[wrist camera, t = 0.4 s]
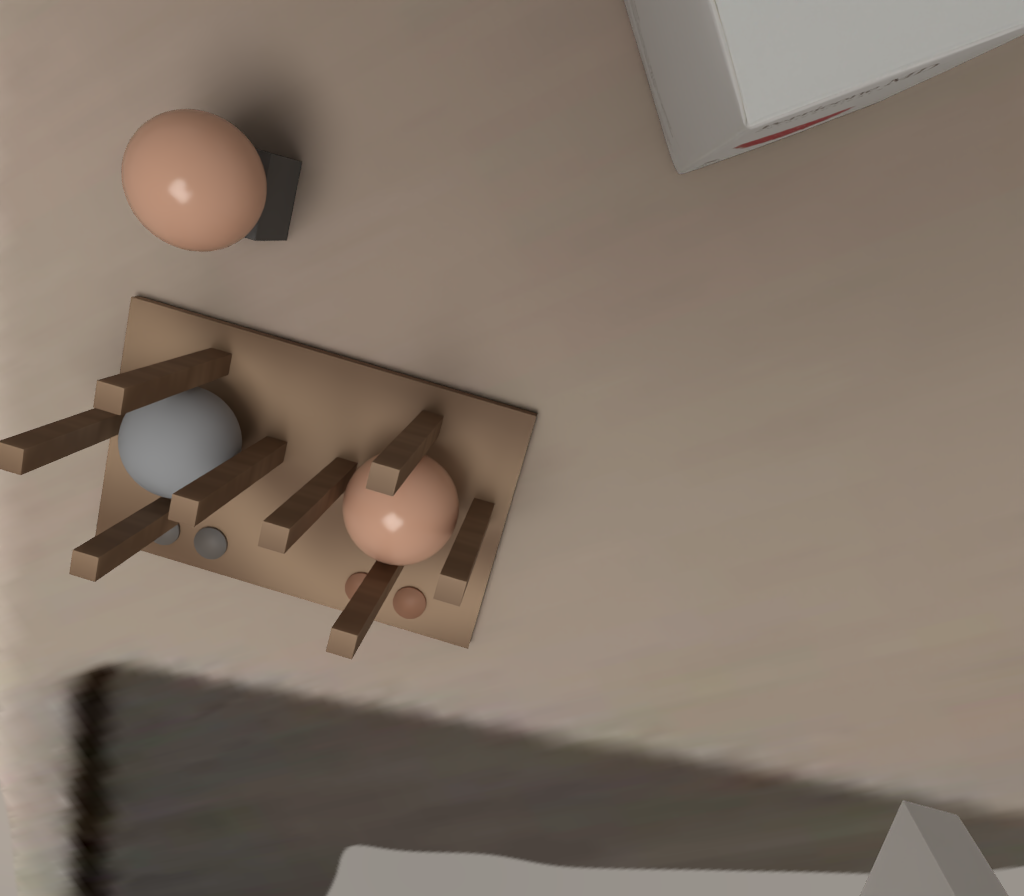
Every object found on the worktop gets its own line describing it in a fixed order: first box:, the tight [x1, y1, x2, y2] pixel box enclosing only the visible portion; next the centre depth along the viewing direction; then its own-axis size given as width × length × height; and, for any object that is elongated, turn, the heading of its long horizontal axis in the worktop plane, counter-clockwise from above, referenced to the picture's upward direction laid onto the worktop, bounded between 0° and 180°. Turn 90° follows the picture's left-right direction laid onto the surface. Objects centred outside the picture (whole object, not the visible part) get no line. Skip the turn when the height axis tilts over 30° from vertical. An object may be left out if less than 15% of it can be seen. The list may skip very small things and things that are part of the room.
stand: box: [245, 149, 302, 241], centre depth 34 cm, size 3×3×4 cm
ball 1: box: [118, 387, 242, 499], centre depth 36 cm, size 5×5×5 cm
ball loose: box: [121, 109, 267, 252], centre depth 30 cm, size 5×5×5 cm
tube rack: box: [0, 296, 537, 659], centre depth 34 cm, size 12×19×10 cm, turn 74°
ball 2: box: [342, 454, 459, 565], centre depth 35 cm, size 5×5×5 cm
